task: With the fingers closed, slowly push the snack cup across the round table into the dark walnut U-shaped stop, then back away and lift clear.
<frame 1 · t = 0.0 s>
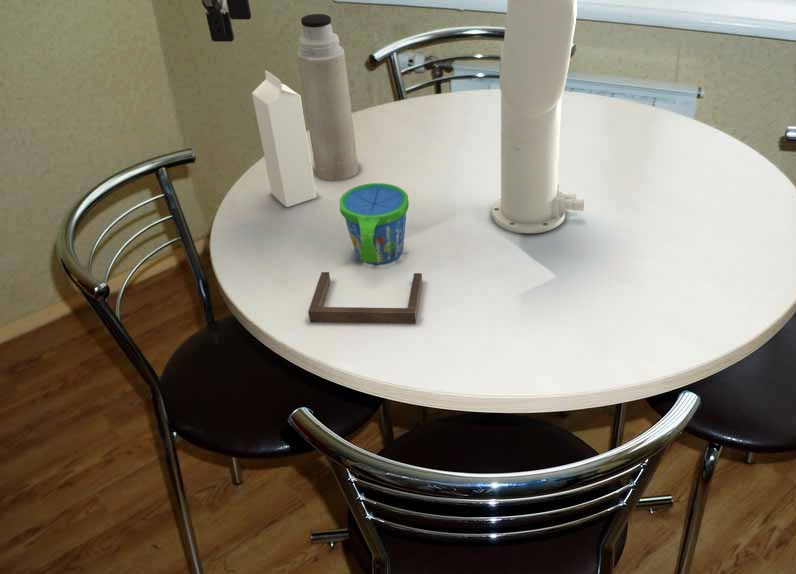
hand: (232, 29, 125), 31 cm above the table, tool pointing down, fingers open, 9 cm apart
thermos bottle: (337, 171, 157), on the table
milk: (294, 197, 150), on the table
bay: (371, 286, 128), on the table
snack cup: (380, 256, 135), on the table
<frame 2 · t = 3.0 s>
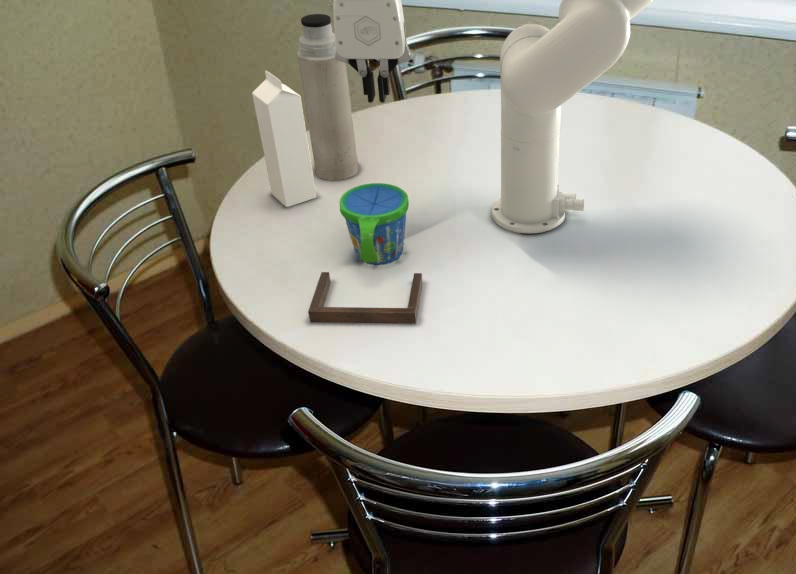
hand: (377, 98, 131), 21 cm above the table, tool pointing down, fingers closed
nothing on the table moved.
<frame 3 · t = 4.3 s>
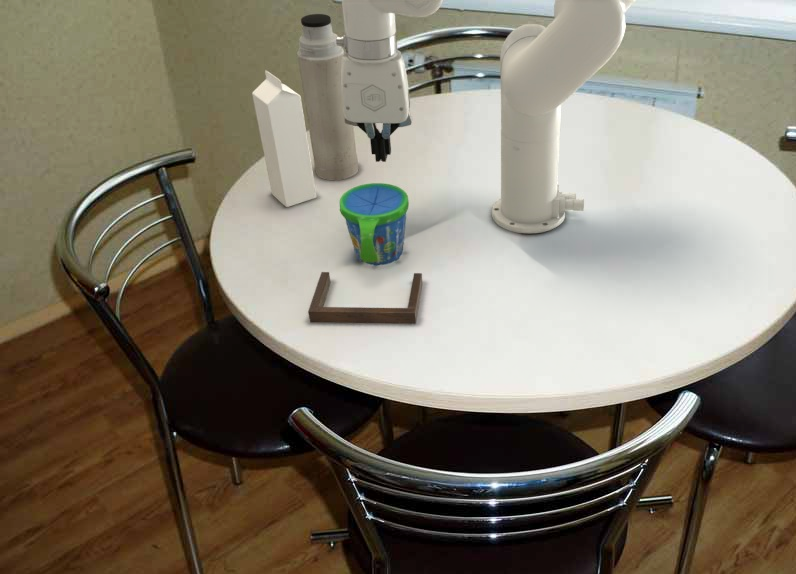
hand: (381, 157, 137), 11 cm above the table, tool pointing down, fingers closed
nothing on the table moved.
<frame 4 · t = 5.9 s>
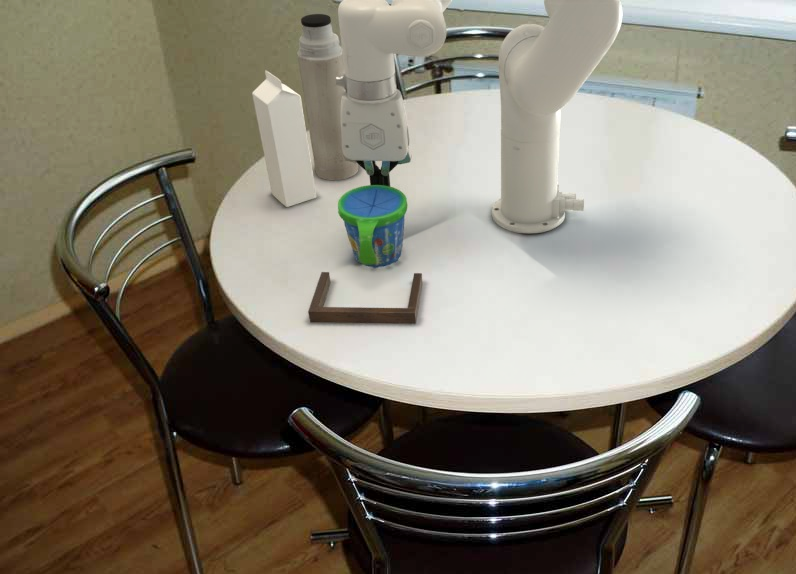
hand: (381, 193, 138), 6 cm above the table, tool pointing down, fingers closed
snack cup: (378, 258, 135), on the table, touching gripper
everything else where it was.
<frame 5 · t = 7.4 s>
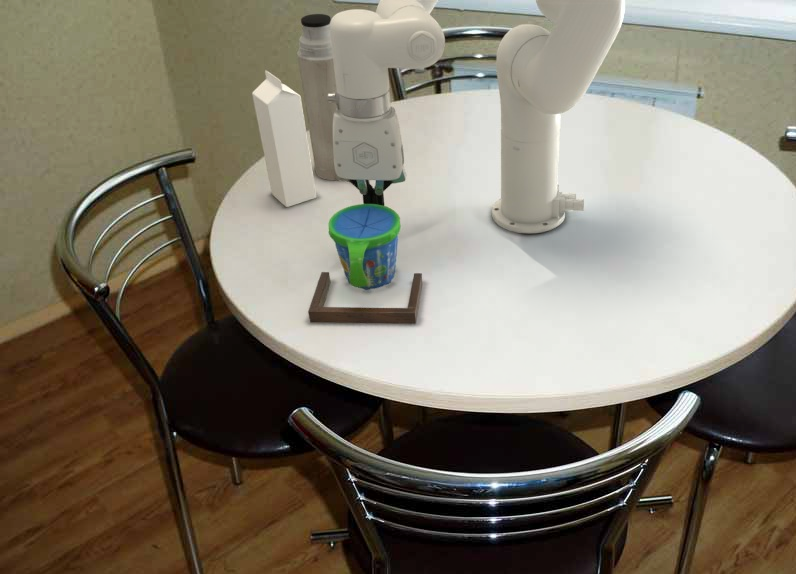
hand: (374, 213, 133), 6 cm above the table, tool pointing down, fingers closed
snack cup: (371, 279, 130), on the table, touching gripper
everything else where it was.
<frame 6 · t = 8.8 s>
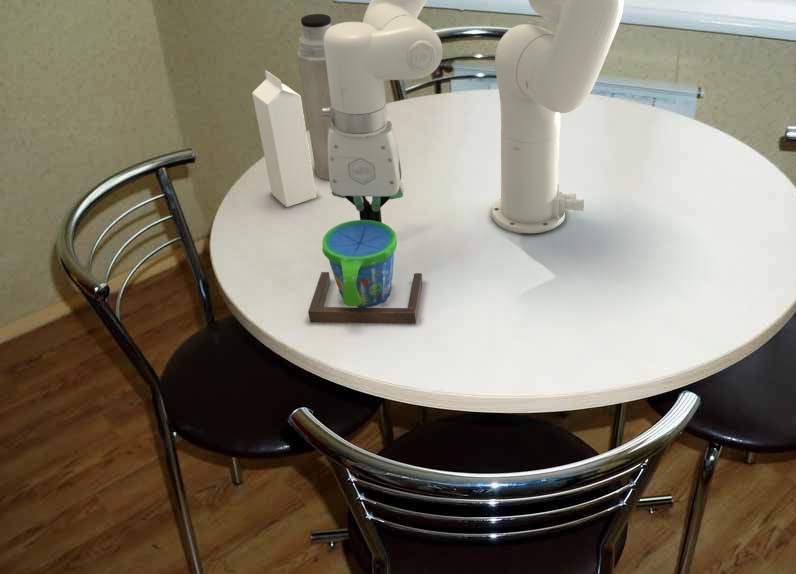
hand: (371, 229, 130), 6 cm above the table, tool pointing down, fingers closed
snack cup: (366, 296, 126), on the table, touching gripper
everything else where it was.
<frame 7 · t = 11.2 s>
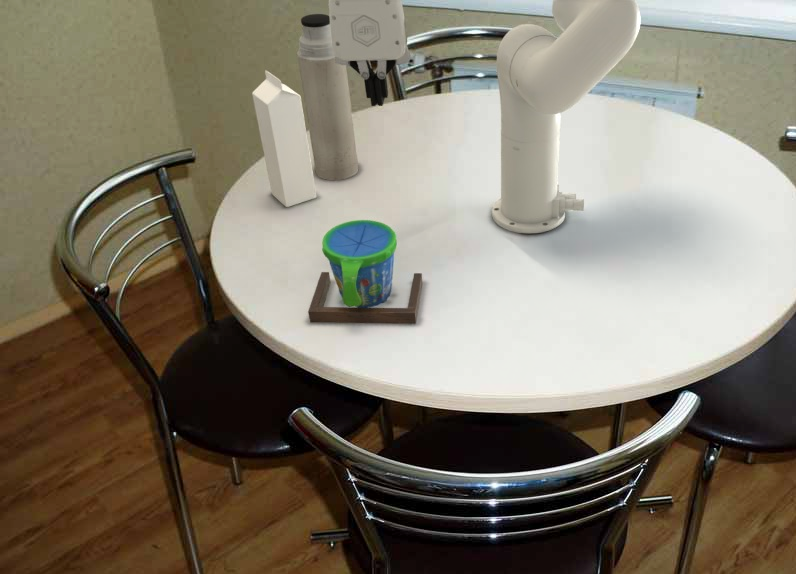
hand: (378, 102, 123), 24 cm above the table, tool pointing down, fingers closed
snack cup: (366, 297, 126), on the table
everything else where it was.
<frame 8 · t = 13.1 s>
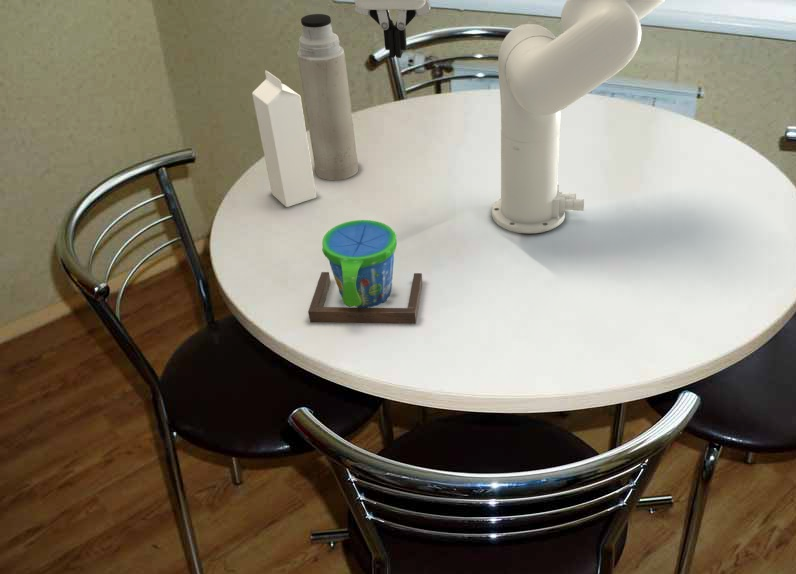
hand: (396, 54, 123), 29 cm above the table, tool pointing down, fingers closed
nothing on the table moved.
at the end: snack cup inside the target area on the bay (2.9 cm from its centre), point 0.0 cm above the bay's base; snack cup tilted 0°; snack cup moved 11.4 cm from its start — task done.
